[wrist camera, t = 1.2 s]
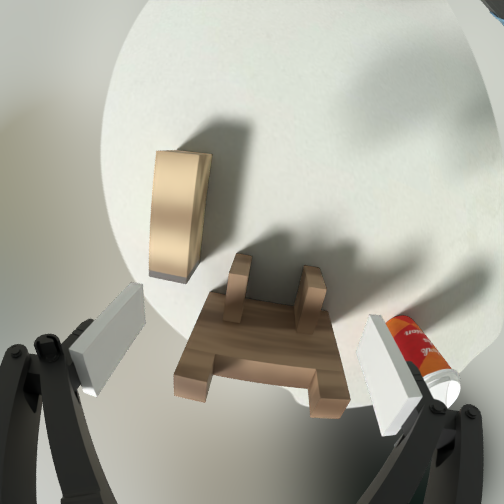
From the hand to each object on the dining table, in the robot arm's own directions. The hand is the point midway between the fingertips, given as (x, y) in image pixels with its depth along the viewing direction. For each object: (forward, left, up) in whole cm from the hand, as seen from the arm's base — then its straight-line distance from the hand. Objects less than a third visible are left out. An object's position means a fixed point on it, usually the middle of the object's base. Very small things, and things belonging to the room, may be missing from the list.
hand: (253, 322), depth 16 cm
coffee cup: (+12, +22, -20) cm, 32 cm away
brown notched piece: (+8, +2, -20) cm, 22 cm away
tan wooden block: (-1, -10, -20) cm, 22 cm away
